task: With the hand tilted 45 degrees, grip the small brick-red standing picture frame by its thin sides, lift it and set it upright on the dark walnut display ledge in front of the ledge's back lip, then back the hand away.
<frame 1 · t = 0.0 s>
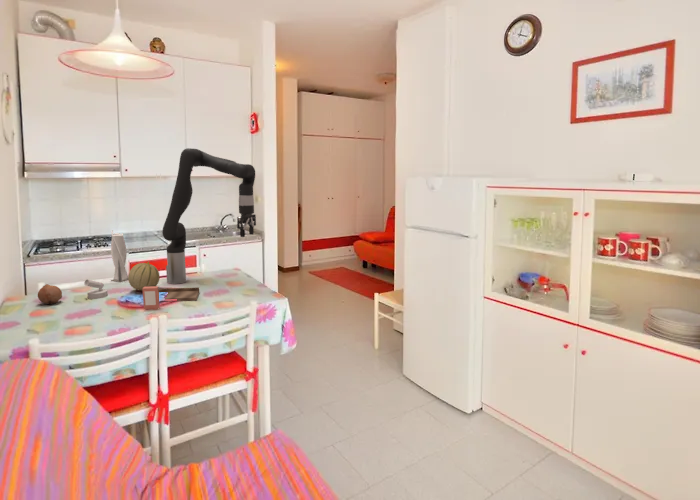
hand: (247, 235, 230), 29 cm above the table, tool pointing down, fingers open, 8 cm apart
skyscraper: (120, 280, 251), on the table
picture frame: (151, 308, 204), on the table
brown round lump: (51, 303, 208), on the table
cantaloupe: (145, 290, 231), on the table
display ledge: (176, 297, 221), on the table
security camera: (96, 296, 220), on the table
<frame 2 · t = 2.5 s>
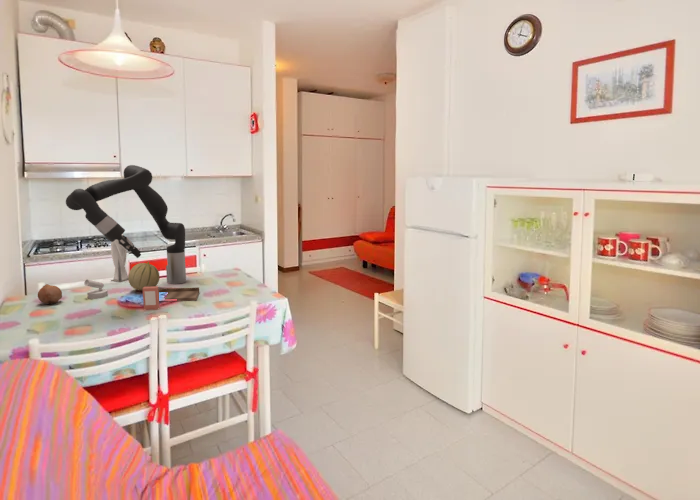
hand: (139, 255, 197), 25 cm above the table, tool tilted 40°, fingers open, 8 cm apart
nothing on the table moved.
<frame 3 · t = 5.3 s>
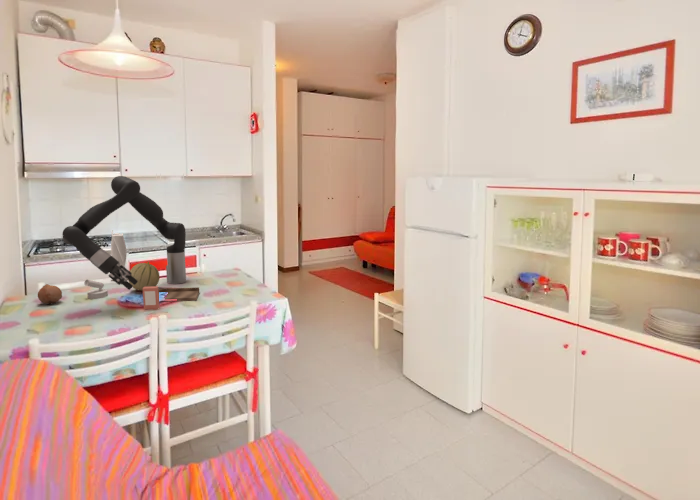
hand: (133, 285, 200), 11 cm above the table, tool tilted 45°, fingers open, 8 cm apart
nothing on the table moved.
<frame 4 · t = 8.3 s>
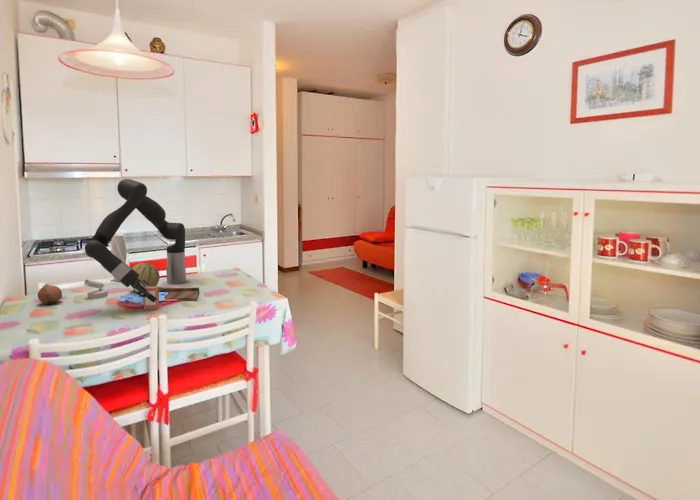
hand: (155, 299, 203), 4 cm above the table, tool tilted 45°, fingers closed on picture frame, 3 cm apart
picture frame: (151, 308, 204), on the table, touching gripper
everything else where it was.
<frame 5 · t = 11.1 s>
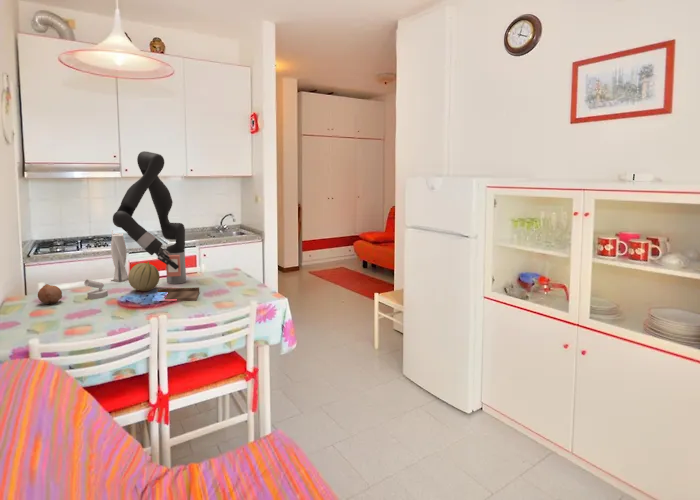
hand: (178, 267, 217), 16 cm above the table, tool tilted 45°, fingers closed on picture frame, 3 cm apart
picture frame: (174, 275, 218), point 11 cm above the table, touching gripper
everything else where it was.
when the fingers open (7 cm above the table, at t = 13.7 s): picture frame stays where it is, resting on display ledge.
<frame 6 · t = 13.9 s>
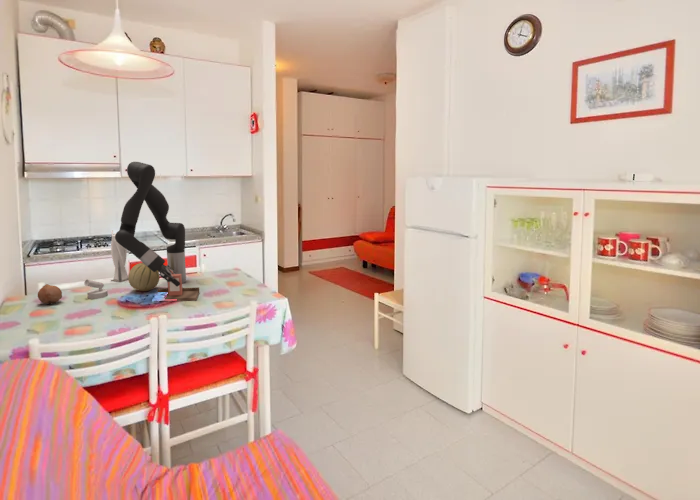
hand: (179, 283, 220), 7 cm above the table, tool tilted 45°, fingers open, 5 cm apart
picture frame: (175, 294, 220), point 2 cm above the table, touching display ledge
everything else where it was.
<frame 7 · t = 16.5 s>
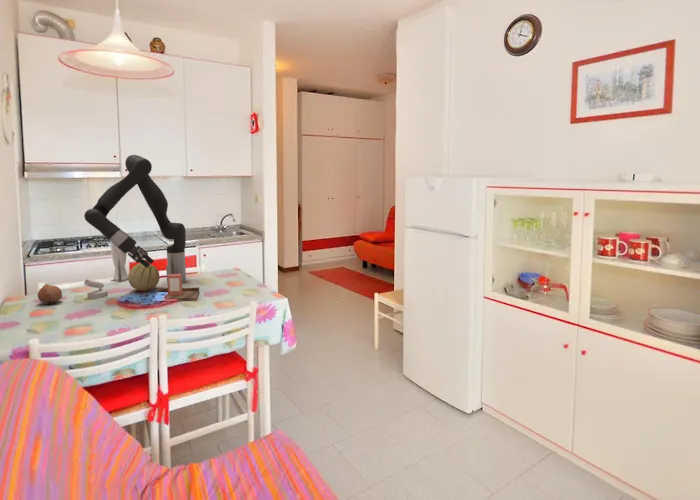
hand: (150, 264, 215), 17 cm above the table, tool tilted 45°, fingers open, 8 cm apart
nothing on the table moved.
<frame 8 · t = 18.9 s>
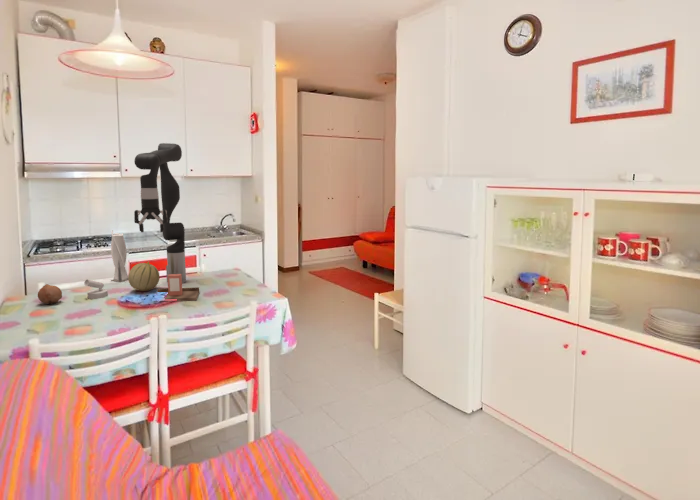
hand: (152, 232, 211), 33 cm above the table, tool pointing down, fingers open, 8 cm apart
nothing on the table moved.
at the end: picture frame inside the target area on the display ledge (0.4 cm from its centre), point 1.5 cm above the display ledge's base; picture frame tilted 0°; the gripper is holding nothing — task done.
